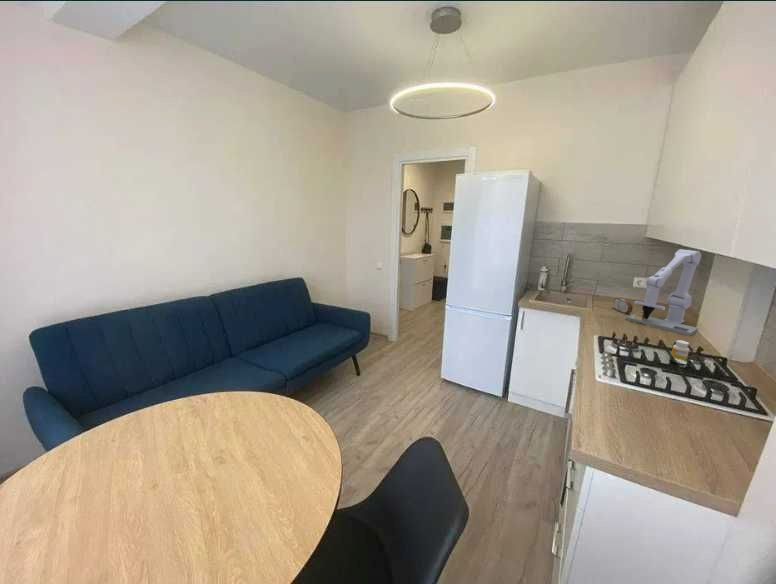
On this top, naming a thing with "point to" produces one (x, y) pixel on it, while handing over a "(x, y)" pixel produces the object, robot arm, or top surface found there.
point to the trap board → (665, 325)
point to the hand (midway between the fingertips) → (645, 318)
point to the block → (639, 315)
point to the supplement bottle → (680, 350)
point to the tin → (623, 305)
